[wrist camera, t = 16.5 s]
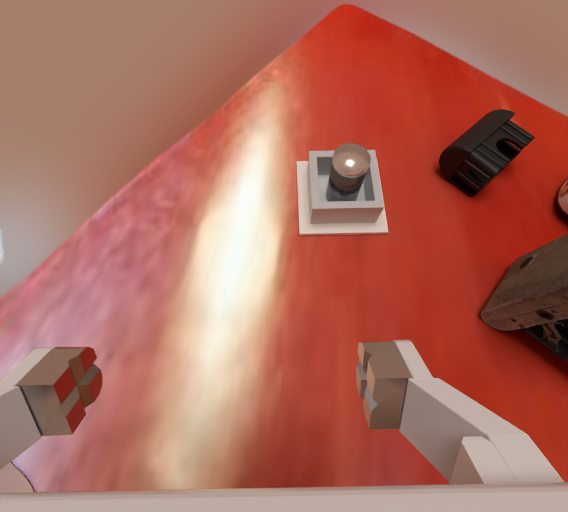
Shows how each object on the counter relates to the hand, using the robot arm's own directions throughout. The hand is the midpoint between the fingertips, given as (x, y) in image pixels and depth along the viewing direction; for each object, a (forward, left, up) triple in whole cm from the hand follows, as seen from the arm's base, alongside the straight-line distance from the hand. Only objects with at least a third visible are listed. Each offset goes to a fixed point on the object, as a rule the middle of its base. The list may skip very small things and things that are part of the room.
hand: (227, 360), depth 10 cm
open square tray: (+10, +24, -29) cm, 39 cm away
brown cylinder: (+10, +24, -29) cm, 39 cm away
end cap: (+30, +29, -30) cm, 51 cm away
